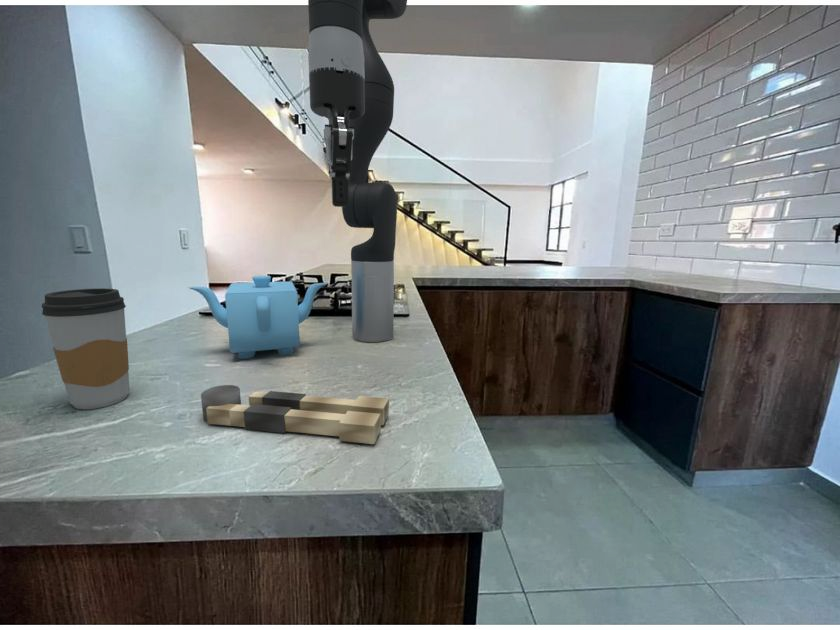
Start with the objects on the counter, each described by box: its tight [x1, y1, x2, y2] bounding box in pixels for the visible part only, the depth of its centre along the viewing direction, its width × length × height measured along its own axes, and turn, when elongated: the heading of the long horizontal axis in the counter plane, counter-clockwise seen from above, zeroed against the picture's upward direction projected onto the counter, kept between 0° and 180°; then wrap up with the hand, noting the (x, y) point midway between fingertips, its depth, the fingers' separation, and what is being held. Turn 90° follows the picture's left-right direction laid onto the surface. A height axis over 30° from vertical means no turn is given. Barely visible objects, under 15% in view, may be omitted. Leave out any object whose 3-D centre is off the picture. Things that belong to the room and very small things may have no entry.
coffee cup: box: [41, 288, 131, 410], centre depth 51 cm, size 8×8×15 cm
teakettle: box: [188, 274, 329, 360], centre depth 76 cm, size 19×19×15 cm
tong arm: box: [248, 390, 390, 426], centre depth 49 cm, size 18×3×2 cm, turn 81°
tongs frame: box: [200, 384, 381, 445], centre depth 47 cm, size 23×6×3 cm, turn 82°
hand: (340, 206), depth 57 cm, fingers closed
